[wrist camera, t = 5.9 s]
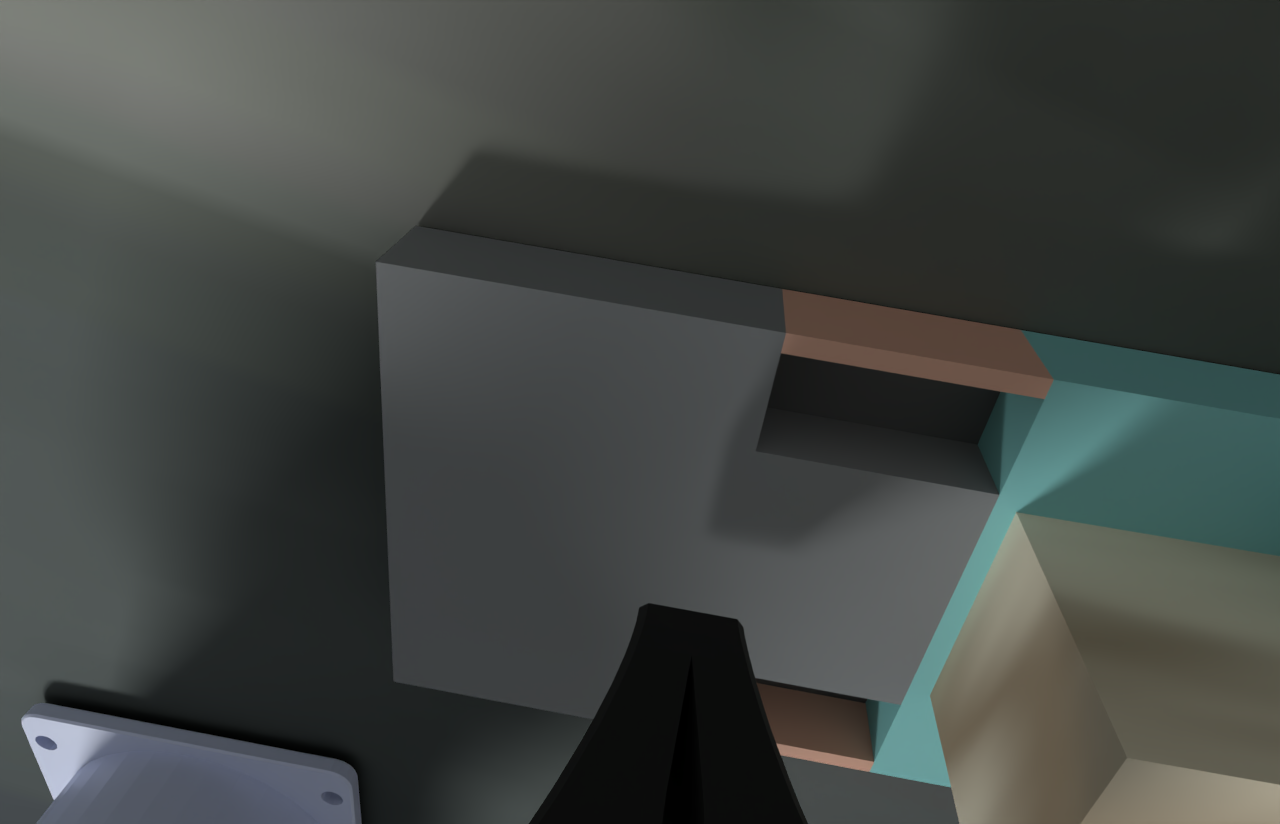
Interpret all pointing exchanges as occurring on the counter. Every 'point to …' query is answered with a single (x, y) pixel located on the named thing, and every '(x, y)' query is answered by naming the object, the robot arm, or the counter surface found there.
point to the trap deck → (758, 478)
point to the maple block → (1115, 682)
